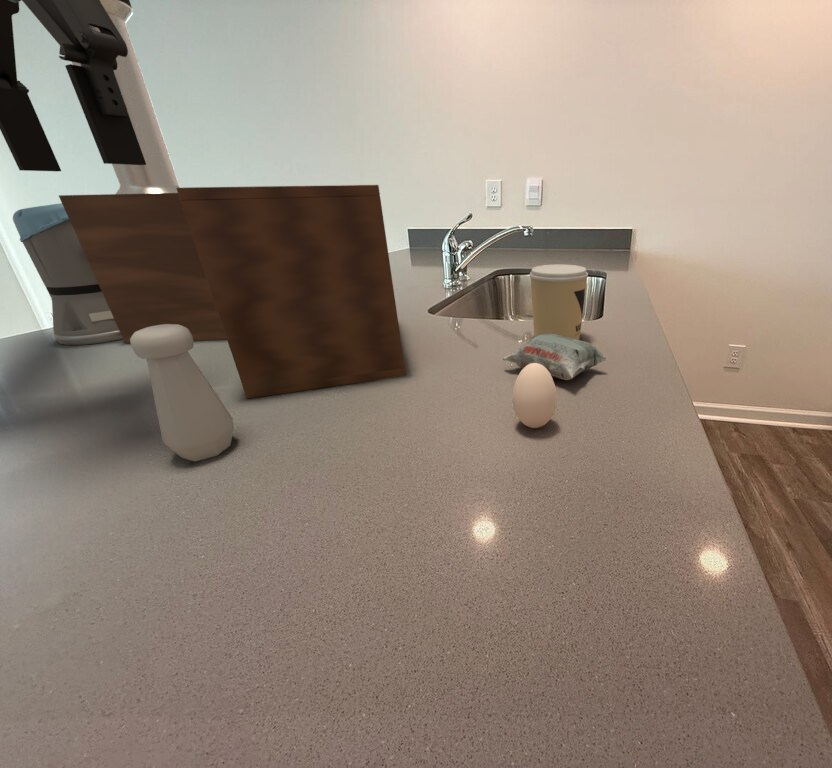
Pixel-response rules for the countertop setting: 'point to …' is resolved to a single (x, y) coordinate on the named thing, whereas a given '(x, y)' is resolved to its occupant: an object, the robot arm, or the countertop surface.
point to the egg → (534, 396)
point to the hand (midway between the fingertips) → (81, 168)
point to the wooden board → (299, 283)
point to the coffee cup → (558, 299)
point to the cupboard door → (145, 261)
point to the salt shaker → (183, 394)
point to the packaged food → (557, 355)
